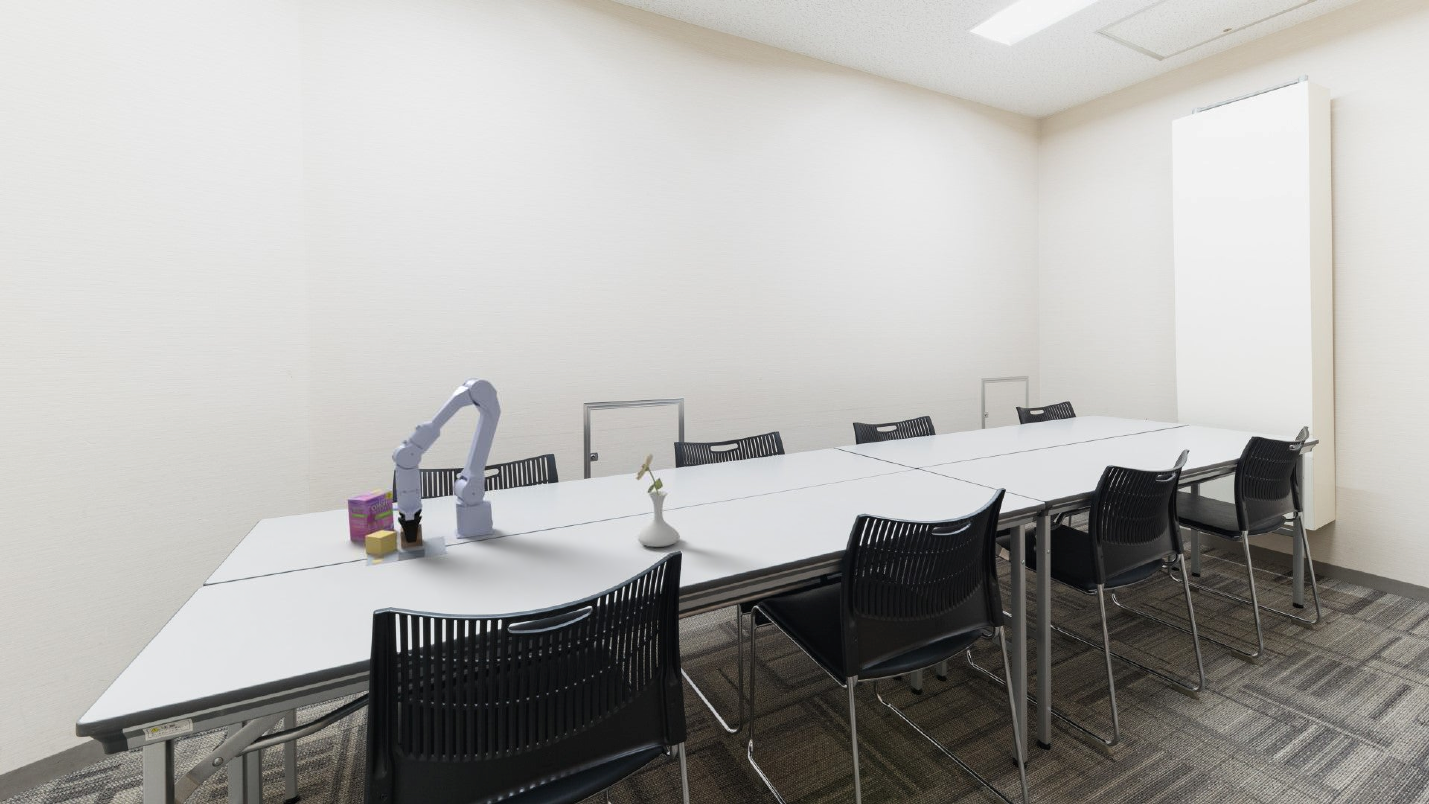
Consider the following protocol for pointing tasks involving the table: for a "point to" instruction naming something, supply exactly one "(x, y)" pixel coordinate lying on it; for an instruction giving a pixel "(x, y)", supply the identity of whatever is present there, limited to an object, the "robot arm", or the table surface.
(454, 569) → the table surface
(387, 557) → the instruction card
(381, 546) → the mustard block
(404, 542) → the walnut block
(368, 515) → the box
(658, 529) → the flower in vase
